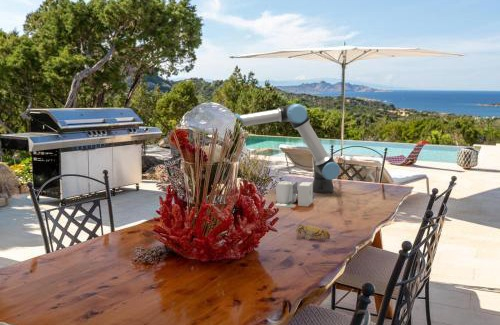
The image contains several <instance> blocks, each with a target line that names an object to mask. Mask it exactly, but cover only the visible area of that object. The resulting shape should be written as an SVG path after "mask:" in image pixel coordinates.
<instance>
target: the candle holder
mask: <svg viewBox="0 0 500 325" xmlns="http://www.w3.org/2000/svg"><path fill="white" fill-rule="evenodd" d="M278 182H279V183H278V184H277V186H276V185H275V194H276V196H275V198H276V204H277V203H279V204H280V203H282V204H288V203H289V185H290V184H291V183H293V182H291V181H287V180H285V181H283V180H282V181H281V182H280V181H278Z"/></svg>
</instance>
